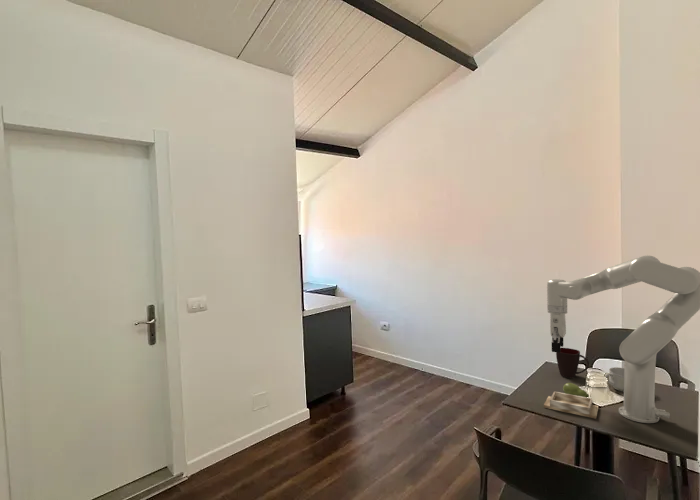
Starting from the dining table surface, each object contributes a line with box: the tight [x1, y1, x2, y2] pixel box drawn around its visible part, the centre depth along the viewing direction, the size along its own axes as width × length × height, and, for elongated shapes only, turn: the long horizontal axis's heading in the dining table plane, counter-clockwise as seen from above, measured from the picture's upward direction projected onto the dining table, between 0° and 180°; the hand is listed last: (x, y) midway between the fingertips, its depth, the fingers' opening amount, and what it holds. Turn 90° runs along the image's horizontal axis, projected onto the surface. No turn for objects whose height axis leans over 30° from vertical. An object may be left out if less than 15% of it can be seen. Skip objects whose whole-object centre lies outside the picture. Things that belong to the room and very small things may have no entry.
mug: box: [555, 347, 590, 379], centre depth 197 cm, size 10×14×12 cm
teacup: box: [604, 366, 624, 393], centre depth 181 cm, size 14×11×8 cm
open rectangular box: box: [543, 391, 599, 419], centre depth 164 cm, size 18×10×4 cm, turn 55°
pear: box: [562, 382, 590, 398], centre depth 175 cm, size 6×5×10 cm
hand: (557, 349), depth 176 cm, fingers open, 9 cm apart
